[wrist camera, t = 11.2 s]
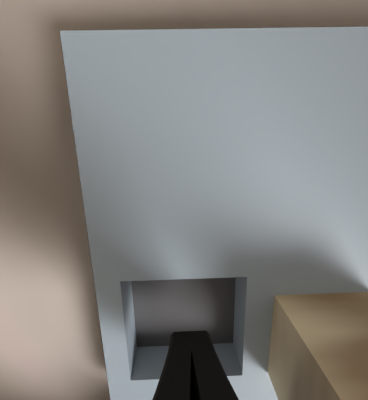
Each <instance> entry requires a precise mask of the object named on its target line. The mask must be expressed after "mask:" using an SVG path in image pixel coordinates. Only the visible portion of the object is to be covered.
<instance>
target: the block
mask: <svg viewBox="0 0 368 400" xmlns="http://www.w3.org/2000/svg"><path fill="white" fill-rule="evenodd" d="M268 375H269V377H270V380H271V382H272V385H273V387H274V390H275V392H276V395H277V398H278V400H368V292H354V293H327V294H299V295H274V307H273V318H272V329H271V340H270V352H269V363H268Z"/></svg>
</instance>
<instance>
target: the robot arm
mask: <svg viewBox="0 0 368 400" xmlns="http://www.w3.org/2000/svg"><path fill="white" fill-rule="evenodd" d="M152 400H239V399H238V397H237V395H236V393H235V391H234V389H233V387H232V385H231V383H230V381H229V379H228V378H227V376H226V373H225V371H224V369H223V367H222V365H221V363H220V361H219V358H218V356H217V354H216V351H215V349H214V346H213V344H212V341H211V338H210V335H209V333H208V332H207V331H183V332H173V333H172V334H171V338H170V344H169V349H168V353H167V357H166V360H165V363H164V367H163V370H162V373H161V376H160V379H159V382H158V385H157V388H156V391H155V394H154V396H153V399H152Z"/></svg>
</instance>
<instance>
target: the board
mask: <svg viewBox="0 0 368 400" xmlns="http://www.w3.org/2000/svg"><path fill="white" fill-rule="evenodd" d="M60 36H61V44H62V51H63V58H64V66H65V73H66V80H67V87H68V95H69V102H70V109H71V117H72V124H73V131H74V138H75V146H76V153H77V160H78V168H79V175H80V182H81V189H82V197H83V204H84V211H85V219H86V226H87V233H88V241H89V248H90V255H91V262H92V270H93V277H94V284H95V292H96V299H97V306H98V313H99V321H100V328H101V335H102V343H103V350H104V357H105V364H106V372H107V379H108V386H109V394H110V400H152V399H153V396H154V394H155V391H156V388H157V385H158V382H159V379H160V376H161V373H162V370H163V367H164V363H165V360H166V357H167V353H168V349H169V344H170V338H171V334H172V333H173V332H183V331H207V332H208V333H209V335H210V338H211V341H212V344H213V346H214V349H215V351H216V354H217V356H218V358H219V361H220V363H221V365H222V367H223V369H224V371H225V373H226V376H227V378H228V379H229V381H230V383H231V385H232V387H233V389H234V391H235V393H236V395H237V397H238V399H239V400H278V398H277V395H276V392H275V390H274V387H273V385H272V382H271V380H270V377H269V375H268V363H269V352H270V340H271V329H272V318H273V307H274V295H299V294H327V293H354V292H368V27H297V28H222V29H147V30H72V31H60Z"/></svg>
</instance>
